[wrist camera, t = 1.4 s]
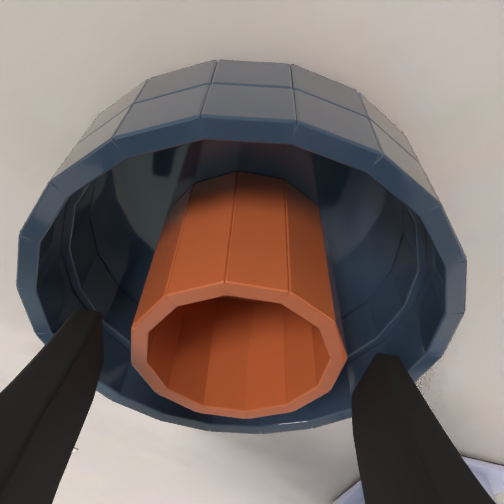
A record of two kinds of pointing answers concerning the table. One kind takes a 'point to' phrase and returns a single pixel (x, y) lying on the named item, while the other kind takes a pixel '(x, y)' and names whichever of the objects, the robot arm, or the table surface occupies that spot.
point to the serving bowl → (261, 163)
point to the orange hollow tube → (240, 301)
